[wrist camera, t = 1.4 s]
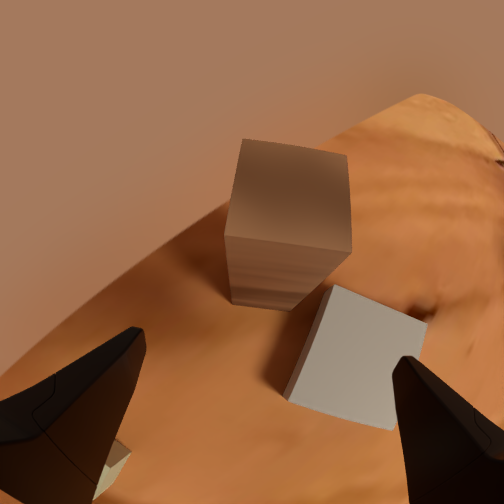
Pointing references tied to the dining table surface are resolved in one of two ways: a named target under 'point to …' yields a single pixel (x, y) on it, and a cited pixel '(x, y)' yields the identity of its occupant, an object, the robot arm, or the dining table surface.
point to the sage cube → (112, 467)
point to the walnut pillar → (285, 223)
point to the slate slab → (354, 358)
